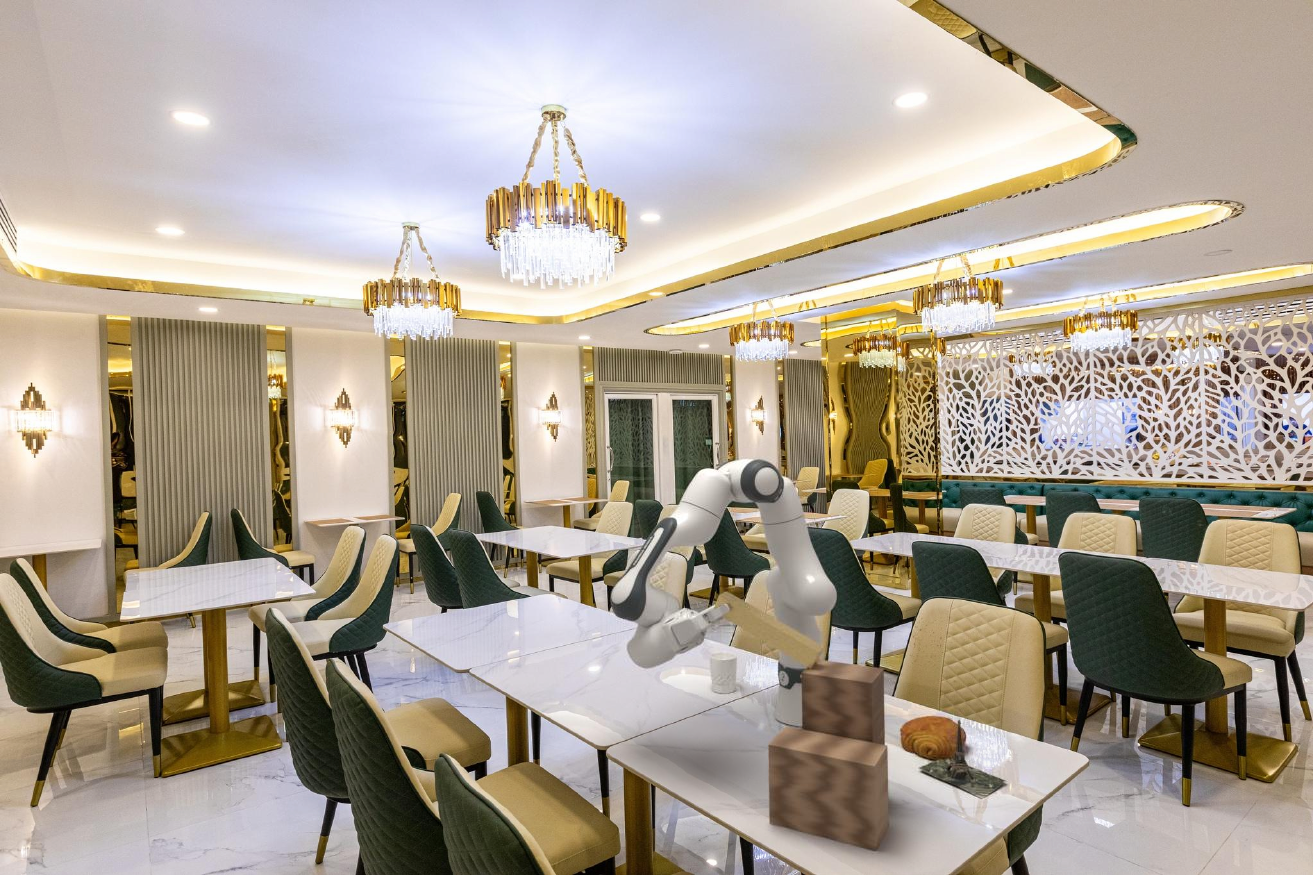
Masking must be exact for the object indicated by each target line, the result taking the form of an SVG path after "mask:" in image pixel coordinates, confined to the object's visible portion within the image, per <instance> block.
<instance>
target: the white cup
mask: <svg viewBox="0 0 1313 875" xmlns="http://www.w3.org/2000/svg"><path fill="white" fill-rule="evenodd" d="M737 656H738V655H737V654H735V653H734V652H730V651H716V652H711V654H709V664H710V666H709V668H710V680H711V689H712V691H713V692H714V693H717V694H723V695H724V694H731V693H735V691H736V683H737V669H738V668H737V666H738V665H737V664H738V662H737V659H738V657H737Z"/></svg>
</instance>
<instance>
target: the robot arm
mask: <svg viewBox="0 0 1313 875" xmlns="http://www.w3.org/2000/svg"><path fill="white" fill-rule="evenodd" d="M715 468H716V469H715ZM715 468H703V469H700V470H698V472H697V473H696V474H695V476H694V477H693V479H692V480H691V482H690V483H689V484H688V486H687V487H686V489H685V491H684V493H683V495H682V497H681V498H680V501H679V504H678V505H677V506H676V508H675V509H674V511H673V512H672V514H671V515H669V516H668V517H664V518H663V519H661V520H660V521H659V522H658V523H657V524H656V525H655V527H654V528H653V530H652V531H651V532H650V534H649V535H648V537H647V539H646V540H645V542H644V543H643V544H642V546H641V548H640V549H639V551H638V552H637V554H636V555H635V557H634V559H633V560H632V562H631V564H630V566H628V568H627V569H626V571H625V572H624V573H623V575H622V576H620V578H618V580H617V582H616V583H615V584H614V586H613V587H612V589H611V592H610V595H609V596H610V606H611V609H612V612H613V614H614V615H615V616H616V617H617V618H619V619H623V620H625V621H628V622H633V623H634V624H637V627H636V630H635V633H634V635H633V636H632V637H631V639H630V640H629V641H628V642H627V644H626V651H627V654H628V656H629V658H630V659H631V661H632V662H633V663H634V664H635V665H637V666H638V667H640V668H642V669H645V670H647V669H648V670H649V669H652V668H655V667H658V666H660V665H664V664H666V663H668V662H670V661H672V660H673V659H674V658H675V657H676V656H677V655H681V654H685V653H687V652H689V651H691V650H693V649H695V648H697V647H698V646H701V645H702V644H703V642H704V640H705V637H706V635H707V631H708V630H707V629H709V628H711V627H712V626H714V625H716V624H718V623H719V622H721V621H723V620H725V618H724V617H722V615H724V614H726V613H728V612H729V611H731V607H730V605H729V603H726V604H724V605H722V606H720V607H718V608H716V609H714V607H715V604H713V605H712V606H709V607H708V608H706V609H704V610H702V611H700V612H698V611H696V610H693V609H692V610H691V609H690V608H686V607H683V608H681V605H680V602H679V600H678V598H677V597H676V596H675V595H673V594H671V593H669V592H668V591H666V590H663V589H662V588H659V587H657V586H655V585H653V584H651V583H650V580H651V578H652V577H653V575H654V573H655V572H656V569H657V568H658V567H659V566H660V564H661V563H662V561H663V559H664V558H665V556H666V555H667V553H668V552H669V551H670V550H672V549H674V548H678V547H698V546H701V545H704V544H706V543H708V542H710V540H711V539H712V538H713V537H714V535H715V534H716V532H717V530H718V528H719V525H720V523H721V521H722V519H723V516H724V514H725V510H726V509H727V507H728V505H729V504H730V503H732V502H737V503H740V504H742V503H743V504H748V503H755V504H756V506H757V507H758V510H759V513H760V514H759V515H760V518H761V520H760V521H761V523H762V527H763V528H762V529H763V532H764V536H765V537H764V538H765V540H766V545H767V549H768V552H769V554H770V556H772V558H773V560H774V561H775V563H776V566H774V567H772V568H771V569H770V570H769V571H768V573H767V575H766V577H765V587H766V590H767V592H768V593H769V596H770V599H771V602H772V608H773V611H774V616H775V619H776V620H778V621H780V622H782V623H783V624H785V625H787V626H789V627H790V628H792V629H794V630H796V631H797V632H799V633H801V634H803V635H804V636H806V637H808V638H810V639H811V640H813V641H815V642H817V643H818V644H820V645H822V646H823V636H822V631H821V629H820V628H819V626H818V623H817V620H816V618H815V617H816V616H817V617H821V616H825V615H826V614H829V613H830V612H831V611H832V610H833V608H834V607H835V605H836V602H837V599H838V598H837V597H838V596H837V589H836V587H835V585H834V584H833V582H832V581H831V580H830V579H829V577H828V575H827V574H826V573H825V570H824V568H823V566H822V564H821V562H820V560H819V557H818V555H817V553H816V551H815V548H814V547H813V546H814V545H813V544H812V541H811V537H810V534H809V530H808V526H807V520H806V517H805V512H804V509H803V504H802V502H801V499H800V496H799V493H798V491H797V489H796V486H795V485H794V482H793V481H792V480H791V479H790V478H789V477H786V476H784V475H783V476H782V474H781V473H780V471H779V469H778V468H777V467H776V466H775V465H774V463H771V462H769V461H768V460H765V459H753V458H741V459H738V460H737V459H736V460H727V461H725V462H723V463H721V464H720V465H718V466H717V467H715ZM713 609H714V610H713ZM778 652H779V655H778V656H779V659H778V661H777V677H778V689H777V697H776V704H775V710H774V713H773V716H774V719H776V720H778V722H781V723H783V724H786V725H790V726H793V727H794V726H795V727H802V677H801V673H802V672H803V671H804V670H805V669H806V668H807V666H805V665H803V664H802V663H800V662H798V661H796V660H795V659H793V658H791V657H790V656H788V655H786V654H785V653H783V652H781V651H780V650H778ZM819 660H823V653H822V654H821V656H820V659H819Z"/></svg>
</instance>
